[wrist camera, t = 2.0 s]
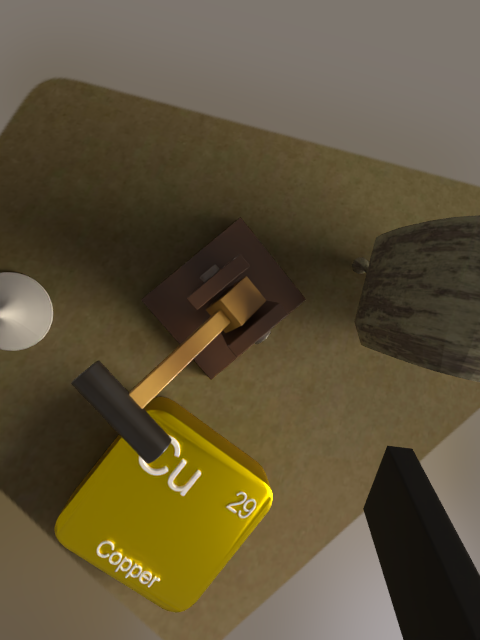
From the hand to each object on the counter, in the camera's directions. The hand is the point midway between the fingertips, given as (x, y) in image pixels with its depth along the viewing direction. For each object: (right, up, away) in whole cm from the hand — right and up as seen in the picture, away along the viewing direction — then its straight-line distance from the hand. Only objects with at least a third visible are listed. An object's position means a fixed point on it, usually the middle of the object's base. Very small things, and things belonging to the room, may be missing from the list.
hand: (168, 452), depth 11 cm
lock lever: (-2, +2, +12) cm, 13 cm away
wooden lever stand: (+1, +6, +25) cm, 26 cm away
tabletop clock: (+18, +6, +27) cm, 33 cm away
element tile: (-5, -13, +26) cm, 30 cm away
